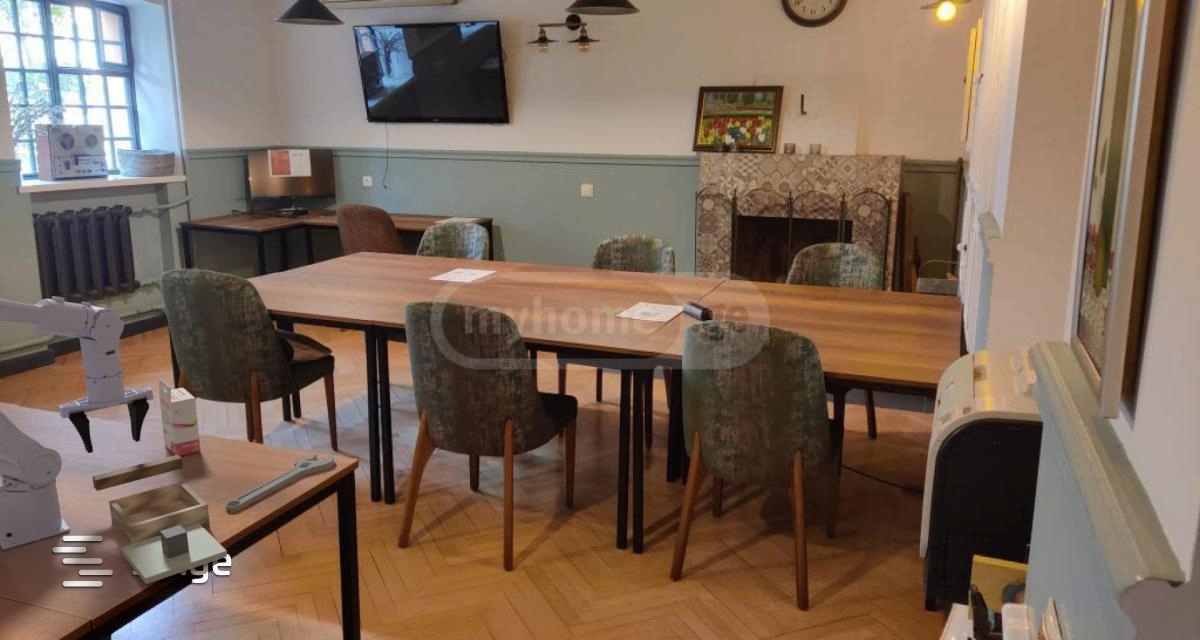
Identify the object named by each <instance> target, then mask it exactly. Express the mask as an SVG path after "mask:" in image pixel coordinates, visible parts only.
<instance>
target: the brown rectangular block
mask: <svg viewBox="0 0 1200 640" xmlns="http://www.w3.org/2000/svg"><path fill="white" fill-rule="evenodd" d="M182 459H183V458H182V457H181V456H179V455H175V454H174V455H172V456H168V457H167V456H166V457H164V458H159V459H156V460H152V461H148V462H144V463H140V464H137V465H133V466H127V467H124V468H120V469H117V470H112V471H108V472H104V473H100V474H96V475H92V483H93V488H94V490H96V492H99V491H103V490H107V489H110V488H113V487H117V486H122V485H125V484H128V483H133V482H136V481H140V480H144V479H147V478H152V477H155V476H159V475H162V474H163V475H164V474H166V473H169V472H173V471H179V470H181V469H184V466H183V460H182Z"/></svg>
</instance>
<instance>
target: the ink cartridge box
mask: <svg viewBox="0 0 1200 640" xmlns="http://www.w3.org/2000/svg"><path fill="white" fill-rule="evenodd" d="M158 385H159V386H158V388H159V391H158V395H159V396H158V398H159V404H160V405H159V406H160V412H161V413H160V415H161V422H162V424H161V425H162V432H163V440H164V445H165V447H166V448H168V450H170V451H171V452H172V453H173V455H174V456H175V455H179V456H180V457H181V456H186V455H190V454H195V453H200V452H201V442H200V434H199V425H198V415H197V413H198V412H197V406H196V405H197V403H196V397H195V396H193V395H192V394H191V393H190V392H189V391H188V390H187V389H185V388H184V387H178V388H174V389H172V388H171V386H169V385H168V383H166V382H165V381H164V380H162V379H161V378H158Z"/></svg>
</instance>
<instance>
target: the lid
mask: <svg viewBox="0 0 1200 640" xmlns="http://www.w3.org/2000/svg"><path fill="white" fill-rule="evenodd" d="M227 552H228V551H227V549H226V548H224V546H223V545H222V544H220V542H219V541H218V540H217V539H215V538H214V537H213V535H211V534H210V533H209V532H208V531H207V529H205V527H204V528H203V527H202V526H201V525H200V524H199V523H198V524H195V525H192V526H188V527H185V528H183V527H182V526H181V525H178V526H175V527H172V528H168V529H165V530H162V531H160V535H159V536H156V537H153V538H150V539H146V540H143V541H140V542H137V543H134V544H127V545H124V546H121V547H120V553H121V554H122V556H123V557H124V558H125V559H126V561H127V562H128V564H129V565H130V566H131V567H132V569H133V570H134V571H135V572H136V573H137V575H138V576H139V578H140V579H141V580H142V581H143V582H144V584H145V585H148V584H151V583H153V582H156V581H159V580H162V579H166V578H167V577H171V576H173V575H177V574H180V573H183V572H185V571H188V570H191V569H194V568H197V567H200V566H203V565H206V564H209V563H212V562H214V561H215V562H216V561H218V560H220V559H224V558H227V557H228V553H227Z"/></svg>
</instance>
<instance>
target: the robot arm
mask: <svg viewBox="0 0 1200 640" xmlns="http://www.w3.org/2000/svg"><path fill="white" fill-rule="evenodd" d="M0 322H9V323H18V324H19V323H20V324H29V325H31V326H32V328H33V329H34V330H35V331H36V332H37V333H39V334H44V335H51V336H52V335H53V336H60V337H70V338H77V339H79V342H80V351H81V357H82V358H81V359H82V364H83V371H84V380H85V387H86V394H87V396H85V397H82V398H80V399H76V400H73V401H69V402H66V403H62V404H58V410H59V416H60V417H61V418H62V419H67V418H68V419H69V421H70V422H71V423H72V425H73V426H74V428H75V430H76V431H77V432H78V434H79V436H80V438H81V441H82V443H83V446H84V449H85V451H86V452H87V454H90V453H91V454H92V453H94V448H93V443H92V439H91V438H92V437H91V429H90V419H89V418H88V416H87V414H86V413H90V412H94V411H98V410H99V411H100V410H104V409H109V408H113V407H118V406H122V405H127V409H128V415H129V419H130V430H131V433H130V434H131V437H132V438H131V439H132V440H133V441H134V442H136V443H137V442H140V441H141V434H142V429H143V423H144V422H145V418H146V416H147V413H149V410H150V403H149V401H152V400H154V393H153V389H152V388H151V387H149V386H147V387H141V388H135V389H134V388H133V389H125V386H124V385H125V384H124V375H123V370H122V369H123V368H122V362H121V361H122V360H121V353H120V345H121V342H120V338H121V335H122V333H123V331H124V329H125V326H124V325H125V322H124V321H122V320H121V317H120V315H119V314H118V313H117V312H116V311H115V310H114V309H110V308H106V307H101V306H95V305H92V303H91V302H87V301H86V302H85V301H81V303H76V302H68V301H65V298H64V297H59V296H53V295H52V296H51V298H44V299H41V300H39V301H38V302H36V303H35V304H29V303H23V302H19V301H13V300H7V299H1V298H0ZM62 462H63V461H62V457H61V455H60V453H58V451H56V450H55V449H53V448H50V447H45V446H43V445H42V444H41V443H40V442H39V441H38V440H36V439H35V438H33V437H31V436H30V435H28V434H27V433H26V432H23V431H22V430H21V429H19V427H17V426H16V424H15V423H13V421H12V420H10V418H8V417H7V416H6V415H5V414H4V413H3V412H2V411H1V410H0V476H1V483H2V486H0V546H1V549H2V550H8V549H11V548H15V547H18V546H22V545H26V544H29V543H32V542H36V541H39V540H43V539H46V538H50V537H54V536H57V535H60V534H64V533H67V532H69V531H70V527H69V525H68V523H67V522H66V520H65V519H64V518H63V517H62V514H61V507H60V502H59V495H58V487H57V477H58V476H59V474H60V471H61V469H62V465H63V463H62Z"/></svg>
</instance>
